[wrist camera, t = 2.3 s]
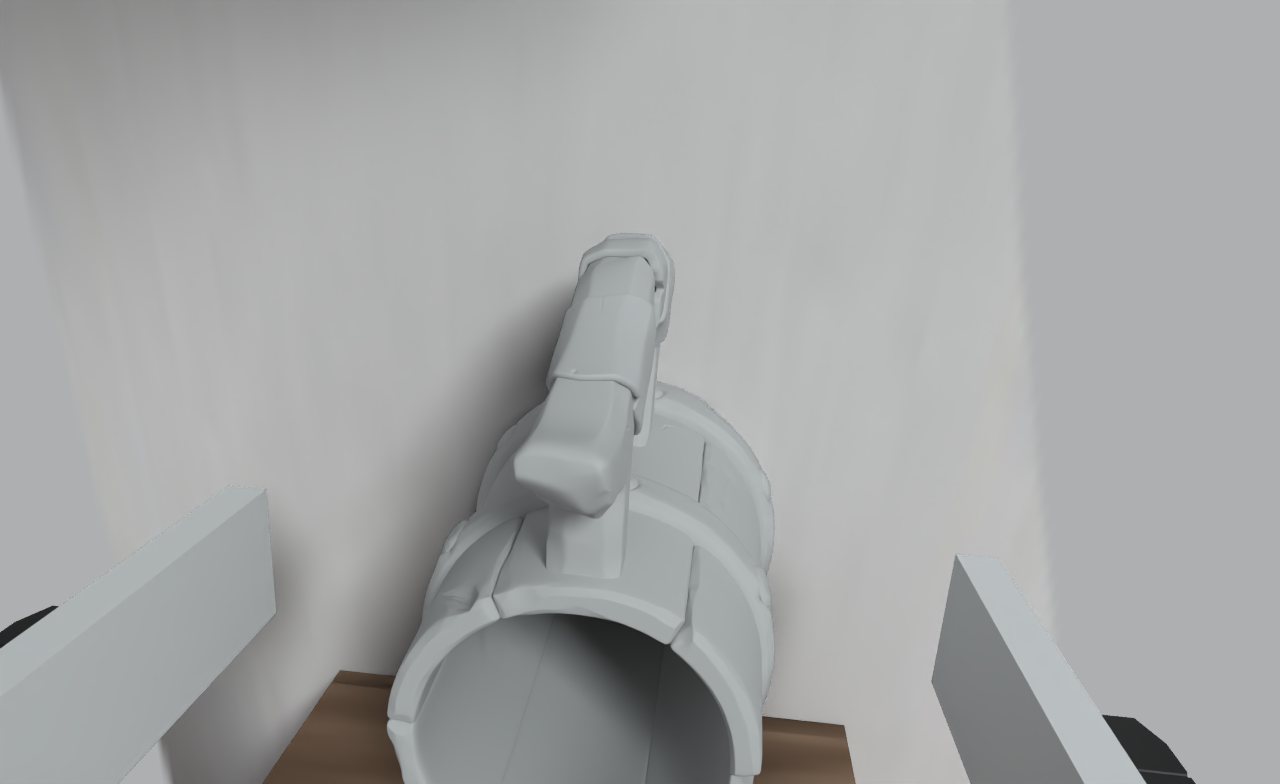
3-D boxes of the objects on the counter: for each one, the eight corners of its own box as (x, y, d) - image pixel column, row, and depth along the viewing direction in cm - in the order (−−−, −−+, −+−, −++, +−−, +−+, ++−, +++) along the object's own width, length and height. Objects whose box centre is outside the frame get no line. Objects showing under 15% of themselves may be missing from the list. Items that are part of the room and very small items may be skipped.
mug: (494, 603, 25) (300, 1019, 13) (497, 193, 21) (231, 287, 10) (754, 631, 24) (783, 1090, 13) (806, 216, 20) (911, 343, 9)
